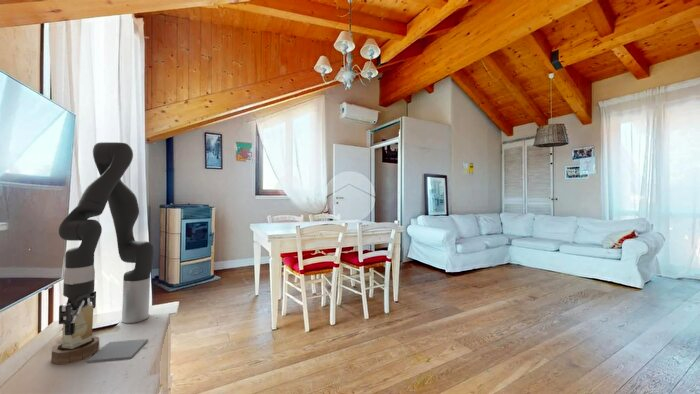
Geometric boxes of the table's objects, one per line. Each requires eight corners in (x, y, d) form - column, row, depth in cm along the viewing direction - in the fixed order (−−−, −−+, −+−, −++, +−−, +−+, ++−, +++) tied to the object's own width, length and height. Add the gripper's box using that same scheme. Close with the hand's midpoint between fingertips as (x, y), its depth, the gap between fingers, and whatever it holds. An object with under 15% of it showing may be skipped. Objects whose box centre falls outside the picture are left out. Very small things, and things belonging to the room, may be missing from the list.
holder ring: (68, 347, 99) (68, 337, 99) (105, 344, 102) (106, 334, 102) (41, 365, 88) (42, 354, 88) (84, 361, 91) (85, 350, 91)
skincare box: (71, 349, 92) (72, 311, 92) (61, 348, 93) (62, 310, 93) (93, 340, 98) (94, 304, 98) (83, 338, 99) (84, 302, 99)
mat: (109, 343, 102) (109, 342, 102) (147, 340, 105) (147, 339, 105) (87, 362, 91) (87, 360, 91) (131, 358, 93) (131, 356, 93)
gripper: (80, 274, 101) (79, 320, 101) (48, 286, 87) (47, 340, 87) (105, 273, 103) (104, 319, 103) (78, 285, 89) (76, 338, 89)
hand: (78, 329), depth 95 cm, fingers closed on skincare box, 7 cm apart
